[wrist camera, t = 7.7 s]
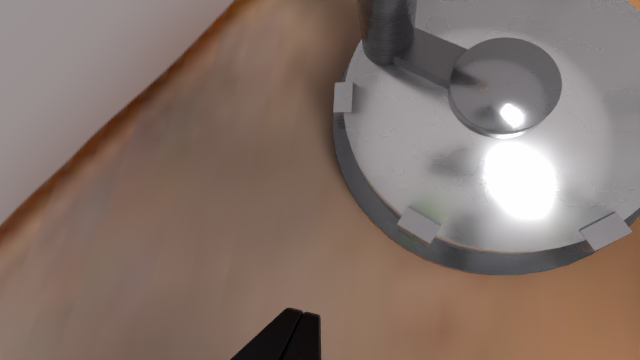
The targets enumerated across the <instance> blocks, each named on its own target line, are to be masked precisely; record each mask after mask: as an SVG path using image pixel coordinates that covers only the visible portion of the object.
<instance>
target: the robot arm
mask: <svg viewBox="0 0 640 360" xmlns="http://www.w3.org/2000/svg"><path fill="white" fill-rule="evenodd" d="M230 360H321V319H320V315H318V314H314V313H310V312H304V313H303V311H301V310H298V309H294V308H286V309H285V310H284V311H283V312H281V313H280V314H279V315H278V316H277V317H276V318H275V319H274V320H273V321H272V322H271V323H270V324H268V325H267V326H266V327H265V328H264V329H263V330H262V331H261V332H260V333H259V334H258V335H256V336H255V337H254V338H253V339H252V340H251V341H250V342H249V343H248V344H247V345H246V346H245V347H243V348H242V349H241V350H240V351H239V352H238V353H237V354H236V355H235V356H234V357H233V358H231V359H230Z"/></svg>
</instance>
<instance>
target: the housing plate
mask: <svg viewBox="0 0 640 360" xmlns="http://www.w3.org/2000/svg"><path fill="white" fill-rule="evenodd" d="M350 62H351V61H350ZM350 62H349V64H350ZM349 64H348V66H347V68H346V69H345V72H344V74H343V77H342V79H341V82H345V79H346V76H347V72H348V68H349ZM333 139H334V145H335V151H336V156H337V159H338V162H339V165H340V169H341V172H342V174H343V176H344V178H345V180H346V183H347V185H348V187H349V189H350V191H351V193H352V195H353V197H354V198H355V200H356V201H357V203H358V204H359V206H360V207H361V209H362V210H363V212H364V213H365V214H366V215H367V216H368V217H369V219H370V220H371V221H372V222H373V223H374V225H375V226H377V227H378V228H379V229H380V230H381V231H382V232H383V233H384V234H385V235H387V236H388V237H389V238H390V239H391V240H393V241H394V242H396V243H397V244H399V245H400V246H401V247H403V248H404V249H406V250H407V251H409V252H411V253H413V254H415V255H417V256H419V257H421V258H423V259H425V260H427V261H430V262H432V263H435V264H438V265H440V266H443V267H446V268H450V269H454V270H458V271H463V272H467V273H476V274H484V275H520V274H528V273H535V272H542V271H547V270H551V269H554V268H558V267H561V266H565V265H568V264H571V263H573V262H575V261H578V260H580V259H582V258H585V257H587V256H589V255H591V254H593V253H595V252H596V251H598V250H599V249H598V250H596V251H592V252H584V253H577V254H569V252H568V251H567V250H566V248H565V247H564V246H563V247H560V248H555V249H549V250H544V251H538V252H531V253H524V254H516V255H493V254H483V253H474V252H470V251H466V250H461V249H457V248H453V247H450V246H448V245H445V244H442V243H439V242H437V241H434V240H432V242H431V244H430V245H429V246H428V247H427V248H425V247H424V246H422V245H420V244H419V243H417V242H415V241H414V240H412V239H411V238H409V237H407V236H406V235H404V234H402V233H401V232H399V231H397V223H398V222H399V219H398V218H397V217H396V216H394V215H393V214H392V213H391V212H390V211H389V210H388V209H387V208H385V206H384V205H383V204H382V203H381V202H380V201H379V200H378V198H377V197H376V196H375V195H374V194H373V192H372V191H371V189H370V188H369V186H368V185H367V183H366V182H365V180H364V179H363V176H362V174H361V172H360V170H359V168H358V166H357V164H356V161H355V158H354V155H353V151H352V148H351V145H350V142H349V139H348V136H347V132H346V129H339V127H338V124H337V121H336V119H335V116H334V113H333ZM639 215H640V208H639V209H637V210H636V211H635V212H634V213H633V214H631V215H630V216H629V217H628V218H627V219H625V220H624V222H625V223H626V224H627V225H628V227H629V226H630V225H631V224H632V223H633V222H634V221H635V220H636V218H637V217H638V216H639ZM602 248H603V247H602ZM600 249H601V248H600Z"/></svg>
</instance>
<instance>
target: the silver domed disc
mask: <svg viewBox="0 0 640 360" xmlns="http://www.w3.org/2000/svg"><path fill="white" fill-rule="evenodd" d="M357 6H358V14H359V22H360V30H361V37H362V39H361V41H360V42H359V44H358V46H357V48H356V50H355V52H354V55H353V57H352V59H351V62H350V64H349V68H348V72H347V76H346V79H345V82H339V83H335V90H334V108H333V113H334V116H335V119H336V121H337V124H338V127H339V129H346V132H347V136H348V139H349V142H350V145H351V148H352V151H353V155H354V158H355V161H356V164H357V166H358V168H359V170H360V172H361V174H362V176H363V179H364V180H365V182H366V183H367V185H368V186H369V188H370V189H371V191H372V192H373V194H374V195H375V196H376V197H377V198H378V200H379V201H380V202H381V203H382V204H383V205H384V206H385V208H387V209H388V210H389V211H390V212H391V213H392V214H393V215H394V216H396V217H397V218H398V219H399V222H398V223H397V231H399V232H401V233H402V234H404V235H406V236H407V237H409V238H411V239H412V240H414V241H415V242H417V243H419V244H420V245H422V246H424V247H425V248H427V247H428V246H429V245H430V244H431V242H432V240H434V241H437V242H439V243H442V244H445V245H448V246H450V247H453V248H457V249H461V250H466V251H470V252H474V253H483V254H493V255H516V254H524V253H531V252H538V251H544V250H549V249H555V248H560V247H563V246H564V247H565V248H566V250H567V251H568V252H569V254H577V253H584V252H592V251H596V250H598V249H600V248H602V247H604V246H606V245H608V244H610V243H612V242H614V241H616V240H618V239H620V238H622V237H624V236H626V235H627V234H629V233H631V232H632V231H631V229H630V228H629V227H628V225H627V224H626V223H625V222H624V220H625V219H627V218H628V217H629V216H630V215H631V214H633V213H634V212H635V211H636V210H637V209H639V208H640V12H639V11H638V10H637V9H636V8H635V7H634V6H633V5H631V4H630V3H629V2H628V1H627V0H357Z"/></svg>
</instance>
